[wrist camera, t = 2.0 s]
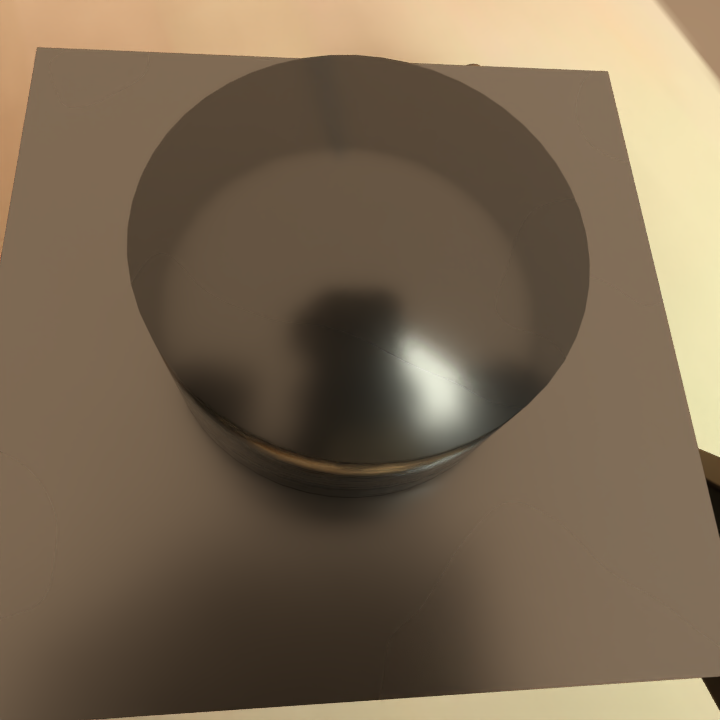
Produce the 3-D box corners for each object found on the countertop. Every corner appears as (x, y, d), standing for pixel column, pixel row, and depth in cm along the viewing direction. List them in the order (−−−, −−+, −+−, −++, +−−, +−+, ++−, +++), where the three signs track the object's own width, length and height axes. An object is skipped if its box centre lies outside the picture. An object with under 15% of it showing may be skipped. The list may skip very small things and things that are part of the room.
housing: (408, 622, 16) (923, 699, 3) (207, 633, 16) (-250, 788, 2) (395, 430, 18) (681, -53, 5) (214, 434, 17) (-31, -101, 4)
